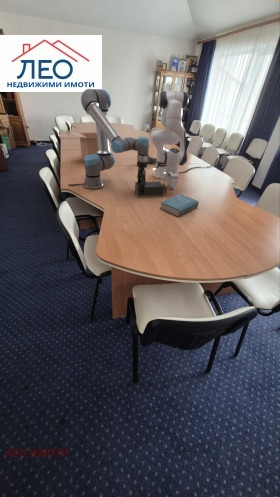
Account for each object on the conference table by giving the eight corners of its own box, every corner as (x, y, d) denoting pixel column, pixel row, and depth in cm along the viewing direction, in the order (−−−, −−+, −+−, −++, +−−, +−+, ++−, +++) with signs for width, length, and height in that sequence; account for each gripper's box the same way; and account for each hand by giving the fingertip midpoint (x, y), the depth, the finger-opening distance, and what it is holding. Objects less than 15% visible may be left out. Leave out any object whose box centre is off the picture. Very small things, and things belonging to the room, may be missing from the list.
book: (179, 200, 168) (180, 193, 165) (197, 207, 159) (199, 201, 156) (160, 208, 154) (160, 201, 152) (178, 217, 146) (179, 210, 143)
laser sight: (157, 165, 238) (158, 155, 232) (137, 163, 241) (138, 153, 235) (159, 163, 245) (160, 153, 239) (139, 160, 248) (139, 151, 242)
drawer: (169, 189, 181) (170, 182, 178) (173, 194, 174) (174, 187, 170) (140, 190, 176) (141, 183, 173) (143, 195, 169) (144, 188, 165)
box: (116, 165, 229) (116, 136, 213) (83, 168, 214) (80, 137, 198) (102, 154, 259) (101, 128, 243) (71, 156, 244) (68, 129, 228)
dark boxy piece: (158, 191, 181) (159, 181, 176) (162, 196, 172) (164, 186, 167) (134, 191, 176) (135, 181, 172) (137, 197, 168) (138, 187, 163)
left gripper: (134, 156, 166) (133, 184, 179) (140, 165, 148) (138, 196, 161) (143, 156, 168) (141, 184, 181) (151, 165, 149) (148, 196, 162)
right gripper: (163, 167, 175) (161, 184, 183) (171, 176, 159) (168, 194, 167) (171, 167, 176) (168, 184, 184) (179, 176, 160) (176, 194, 168)
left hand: (140, 190), depth 171 cm, fingers closed on dark boxy piece, 11 cm apart
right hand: (168, 189), depth 176 cm, fingers closed, pressing on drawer
